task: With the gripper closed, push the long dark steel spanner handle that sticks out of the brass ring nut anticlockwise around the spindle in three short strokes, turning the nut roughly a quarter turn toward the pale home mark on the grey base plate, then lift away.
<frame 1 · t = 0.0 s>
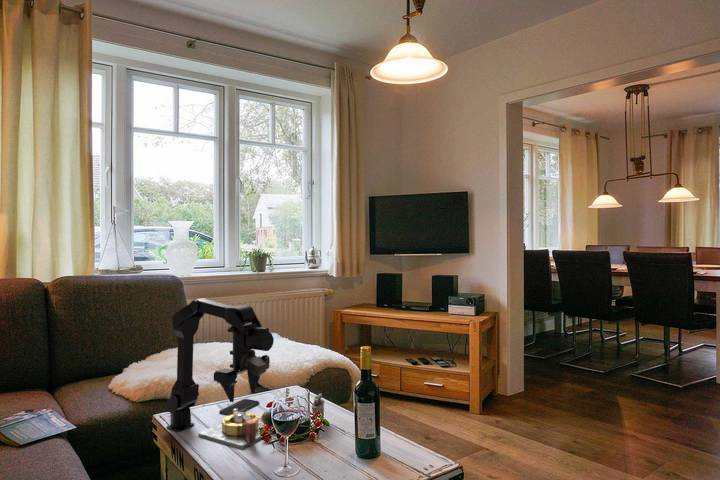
hand: (242, 397, 150), 15 cm above the table, tool pointing down, fingers open, 9 cm apart
grey base plate: (240, 432, 160), on the table
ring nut: (243, 423, 157), point 4 cm above the table, hinge at 0.0°
lighter: (318, 425, 166), on the table
phone: (239, 409, 182), on the table
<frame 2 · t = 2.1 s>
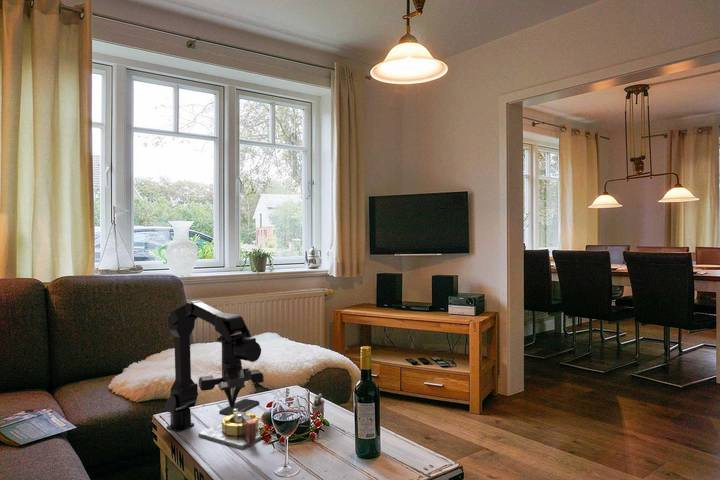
hand: (231, 407, 149), 12 cm above the table, tool pointing down, fingers closed
nothing on the table moved.
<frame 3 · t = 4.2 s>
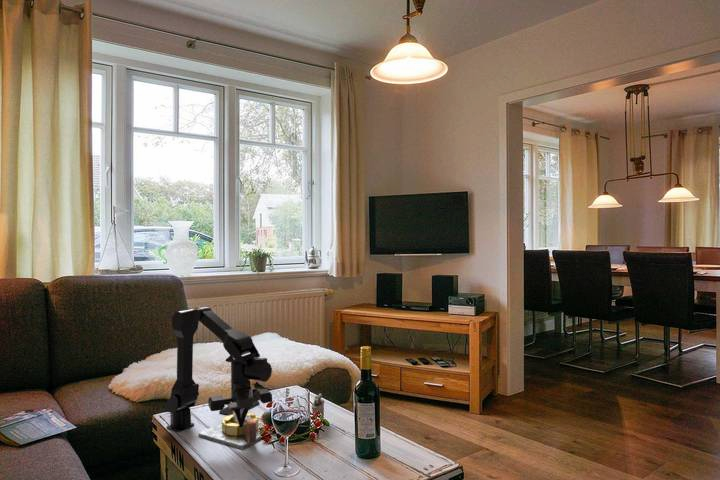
hand: (240, 426, 151), 5 cm above the table, tool pointing down, fingers closed
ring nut: (243, 423, 157), point 4 cm above the table, hinge at 0.5°, touching gripper
everything else where it was.
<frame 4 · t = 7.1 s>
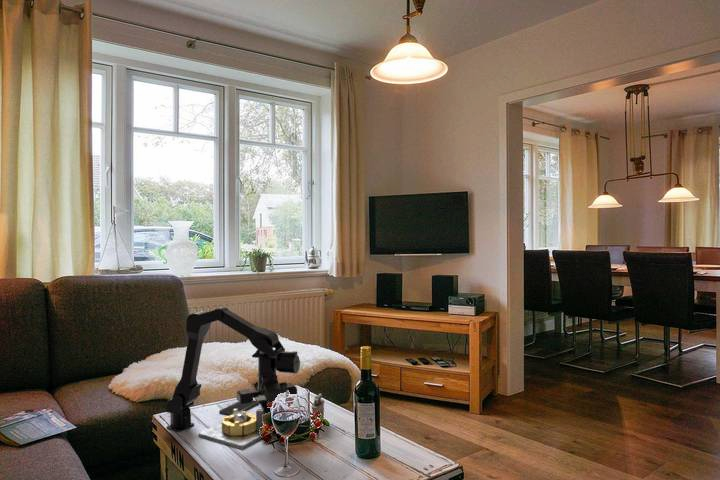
hand: (267, 419, 157), 5 cm above the table, tool pointing down, fingers closed
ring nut: (251, 419, 160), point 4 cm above the table, hinge at 60.4°, touching gripper
everything else where it was.
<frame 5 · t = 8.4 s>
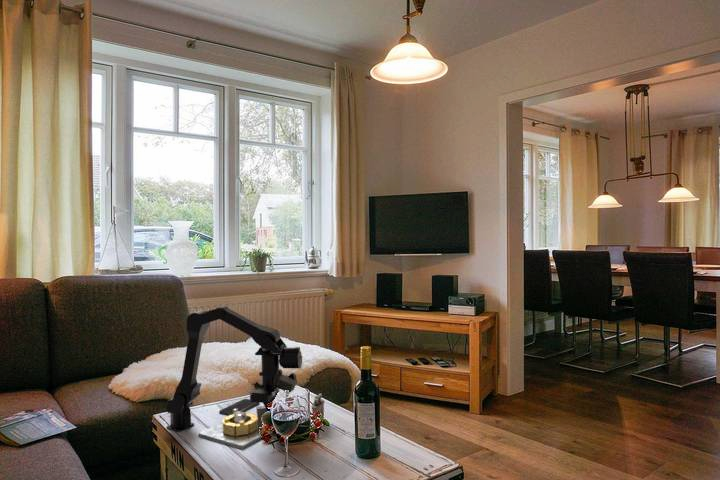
hand: (271, 415, 161), 5 cm above the table, tool pointing down, fingers closed
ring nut: (251, 417, 161), point 4 cm above the table, hinge at 80.5°, touching gripper
everything else where it was.
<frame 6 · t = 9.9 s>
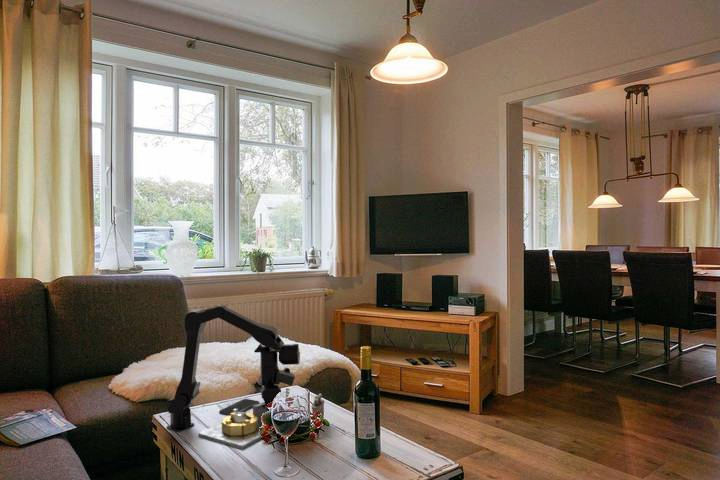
hand: (269, 410, 165), 5 cm above the table, tool pointing down, fingers closed
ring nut: (250, 416, 162), point 4 cm above the table, hinge at 104.1°, touching gripper
everything else where it was.
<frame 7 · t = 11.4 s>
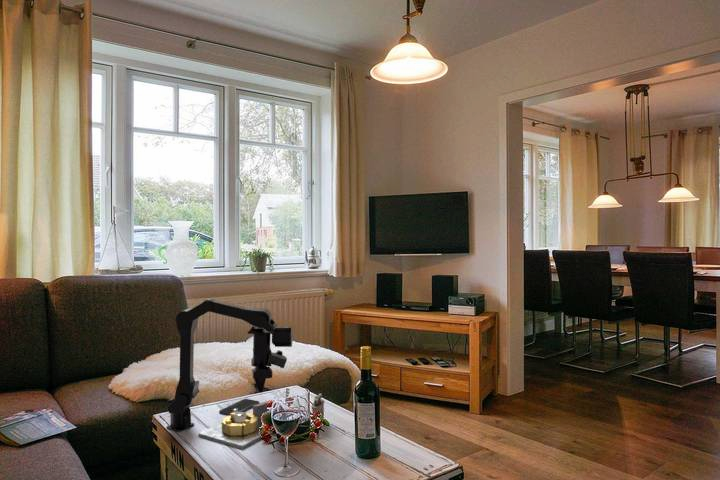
hand: (260, 392, 166), 11 cm above the table, tool pointing down, fingers closed
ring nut: (250, 416, 162), point 4 cm above the table, hinge at 104.1°
everything else where it was.
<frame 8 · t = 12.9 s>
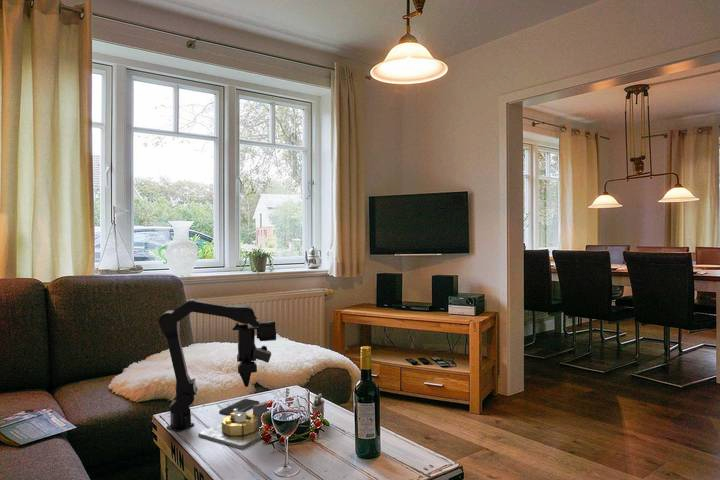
hand: (246, 386, 170), 12 cm above the table, tool pointing down, fingers closed
nothing on the table moved.
at the end: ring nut at +104° (first picture: +0°) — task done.
